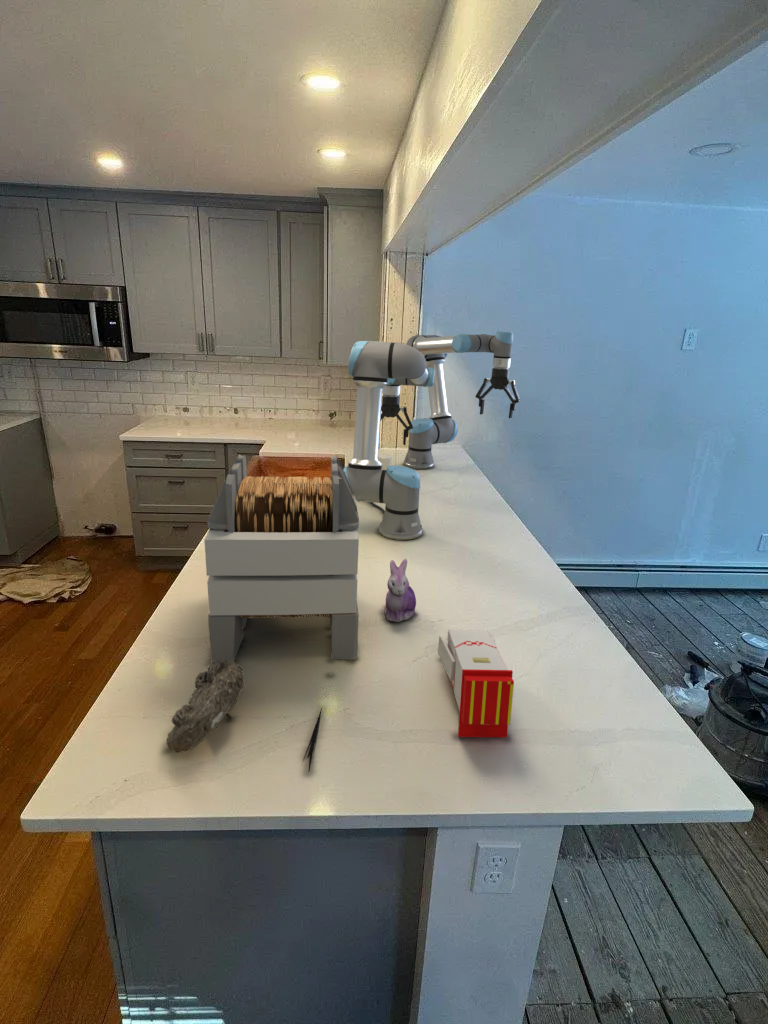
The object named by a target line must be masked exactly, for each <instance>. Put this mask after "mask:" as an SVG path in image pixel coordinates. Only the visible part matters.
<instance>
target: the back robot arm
mask: <svg viewBox="0 0 768 1024" xmlns="http://www.w3.org/2000/svg"><path fill="white" fill-rule="evenodd" d="M405 344H406V345H409V346H411V347H413V348H415V349H417V350H418V351H420V352H421V353H422V354H423V356H424V357H425V359H426V367H429V368H433V369H434V371H435V373H434V384H433V386H431V387H427V391H428V398H429V406H430V415H429V417H428V418H427V417H424V418H423V417H421V418H416V419H412V420H411V423H412V426H413V429H410V430H409V435H408V448H407V452H406V455H405V457H404V460H403V466H405V467H408V468H411V469H414V470H431V469H433V468H434V467H435V462H434V457H433V453H432V446H433V445H438V444H447V443H451V442H453V441H454V440H455V439H456V437H457V435H458V432H459V427H458V423H457V422H456V420H454V419H453V417H452V414H451V413H450V412H449V408H448V401H447V391H446V384H445V375H444V366H443V365H444V363H445V362H446V358H447V357H448V354H457V353H458V354H461V353H489V354H490V353H491V354H493V359H492V367H493V368H491V377H490V378H489V377H485V378H483V382H482V384H481V386H480V387H479V389H478V391H477V393H476V394H475V398H476V399H478V407H479V415H484V412H485V411H484V409H485V402H486V401H485V399H484V398H486V396H487V395H488V394H489V393H490V392H492V391H493V390H500V391H502V390H503V392H505V394H506V395H507V397H508V399H509V400H510V401H511V402H510V404H509V412H508V419H513V412H514V411H515V410H516V407H517V403H520V402H521V398H520V395H519V392H518V389H517V386H516V380H515V379H513V380H509V379H510V378H509V377H510V369H509V368H510V367H511V361H512V360H511V359H512V351H513V344H514V333H513V331H504V330H498V331H496V332H495V335H493V334H486V333H479V334H467V333H461V334H456V335H444V336H442V335H436V334H416V335H413V336H411V337H409V339H408V340H407V341H406V343H405ZM489 383H490V384H491V385H490V386H489V387H488V388H487V389H486V390H485V388H486V387H487V385H488V384H489ZM508 385H509V386H510V387H511V390H510V389H509V386H508ZM511 391H512V392H511Z"/></svg>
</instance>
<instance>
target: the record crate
mask: <svg viewBox="0 0 768 1024" xmlns="http://www.w3.org/2000/svg"><path fill="white" fill-rule="evenodd" d="M339 460H340V459H339V458H338V456H337V455H331V456H330V476H324V477H321V476H314V477H312V478H309V477H308V476H286V477H284V476H283V477H282V476H281V477H280V476H263V475H261V476H254V475H253V476H250V475H248V472H247V458H246V455H245V454H244V455H241V454H238V455H237V456H236V459H235V460H234V462H232V463H233V464H232V467H231V468H230V470H229V474H227V475H226V477H225V480H224V482H223V484H222V486H221V488H220V490H219V493H218V496H217V498H216V500H215V502H214V504H213V506H212V508H211V511H210V513H209V515H208V517H207V521H206V522H207V523H206V524H207V528H208V531H207V533H206V535H205V537H204V554H205V556H204V557H205V569H206V570H205V571H206V576H208V579H207V583H206V584H207V597H208V610H209V611H208V615H207V622H208V637H209V638H208V639H209V644H210V657H211V658H210V659H209V660H210V662H211V661H212V660H217V661H222V662H223V661H224V660H227V659H228V660H231V659H232V660H234V661H235V659H236V656H237V654H238V651H239V649H240V646H241V643H242V640H243V638H244V631H243V629H245V628H246V626H247V620H248V619H250V618H251V619H257V618H258V619H261V618H262V619H264V618H265V619H267V618H272V619H273V618H305V617H306V618H312V617H315V618H320V617H321V618H322V617H324V618H325V617H329V620H330V621H329V622H330V623H329V625H330V647H331V648H330V649H331V650H330V651H331V660H351V661H354V660H355V659H356V658H358V653H359V652H358V650H359V607H358V571H359V570H358V567H359V545H360V543H359V540H360V539H359V534H358V533H359V532H358V529H359V527H360V517H359V512H358V506H357V501H355V496H354V493H353V490H352V488H351V486H350V484H349V482H348V480H347V477H346V475H345V473H344V471H343V469H342V467H341V464H340V462H339ZM247 475H248V476H247Z"/></svg>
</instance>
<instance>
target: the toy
mask: <svg viewBox="0 0 768 1024" xmlns="http://www.w3.org/2000/svg"><path fill="white" fill-rule="evenodd" d="M446 640H447V643H446V641H445V639H444V636H443V635H442V634H439V637H438V646H437V656H438V657H439V659H440V661H441V663H442V666H443V668H444V670H445V672H446V674H447V677H448V679H449V681H450V684H451V687H452V690H453V693H454V697H455V701H456V705H457V708H458V711H459V714H458V715H459V716H458V730H457V731H458V732H457V737H458V738H508V731H509V726H510V725H511V717H512V707H513V697H514V696H513V695H514V684H515V680H514V679H513V673H514V671H513V670H512V669H508V667H507V665H506V662H505V661H504V659H503V658H502V655H501V653H500V651H499V649H498V647H497V643H496V639H495V637H494V635H493V634H491V632H490V631H489V629H467V628H466V629H465V628H463V629H461V628H460V629H459V628H448V630H447V639H446Z"/></svg>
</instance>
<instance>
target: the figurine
mask: <svg viewBox="0 0 768 1024" xmlns="http://www.w3.org/2000/svg"><path fill="white" fill-rule="evenodd" d="M407 567H408V559H406V558H404V559H403V560H402V561H401V563H400V565H399V566H398V565H397V563H396V562H395V561H394V560H393V559H391V560H390V561H389V570H390V576H389V578H388V579H387V589H388V591H387V592H386V594H385V595H386V596H385V607H384V615H385V616H386V620H387V621H391V622H395V623H400V622H402V621H406V620H409V619H410V618H411V617H413V616H414V615H415V610H416V606H417V597H416V593H415V591H414V590H413V587H411V586H410V582H409V579H408V577H407V574H406V571H407Z"/></svg>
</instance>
